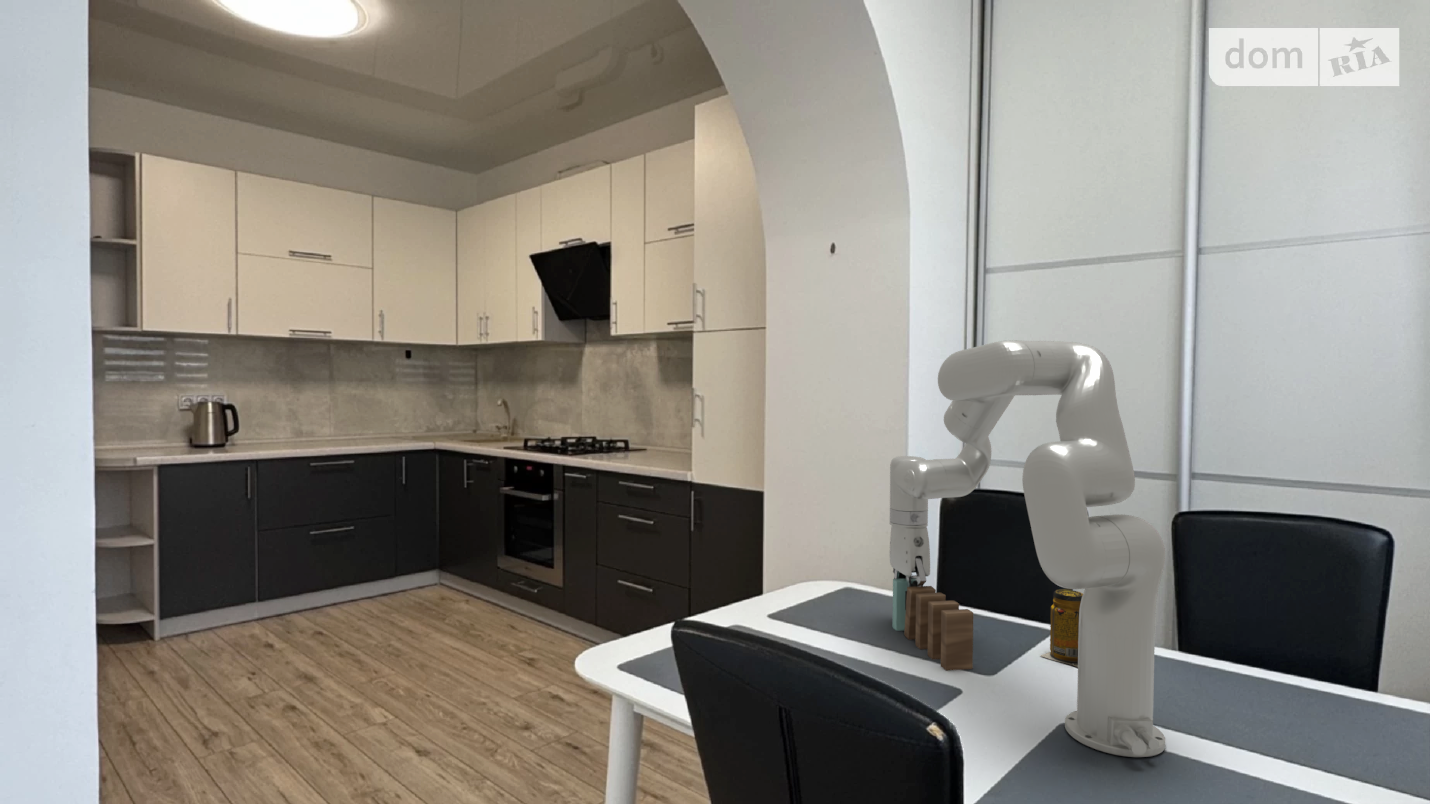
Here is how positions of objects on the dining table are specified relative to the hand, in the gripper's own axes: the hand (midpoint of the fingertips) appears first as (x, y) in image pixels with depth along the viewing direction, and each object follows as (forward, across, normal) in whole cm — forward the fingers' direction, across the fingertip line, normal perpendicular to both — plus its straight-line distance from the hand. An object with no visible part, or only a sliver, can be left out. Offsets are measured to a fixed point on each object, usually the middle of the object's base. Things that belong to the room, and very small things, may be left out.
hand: (907, 605), depth 152 cm
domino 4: (+5, -16, 0) cm, 16 cm away
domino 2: (+5, -5, 0) cm, 7 cm away
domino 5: (+5, -21, 0) cm, 21 cm away
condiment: (+5, -20, -23) cm, 31 cm away
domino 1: (+5, 0, 0) cm, 5 cm away
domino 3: (+5, -10, 0) cm, 11 cm away
